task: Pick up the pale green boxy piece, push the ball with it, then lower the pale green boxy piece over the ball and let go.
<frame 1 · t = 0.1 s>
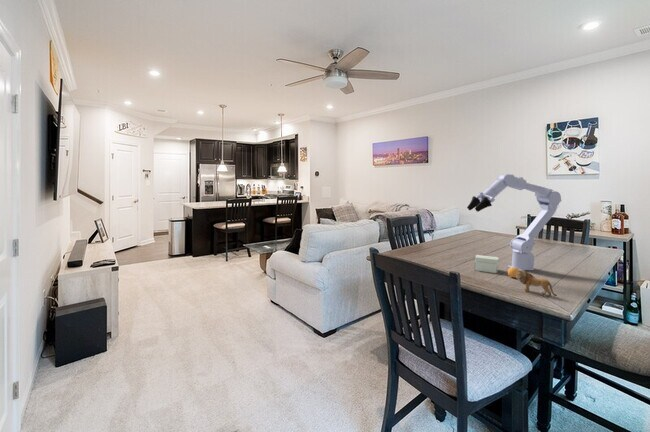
hand: (472, 209, 160), 32 cm above the table, tool tilted 50°, fingers open, 7 cm apart
ball: (513, 272, 151), on the table
lion figurine: (533, 293, 131), on the table
pale green boxy piece: (486, 269, 164), on the table
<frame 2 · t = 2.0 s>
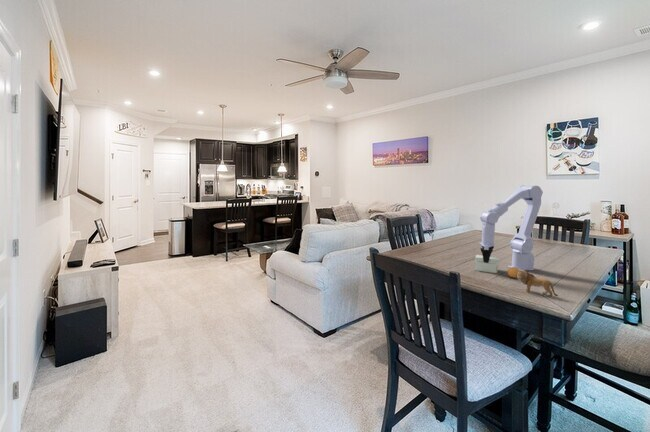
hand: (486, 260, 163), 5 cm above the table, tool pointing down, fingers closed on pale green boxy piece, 6 cm apart
pale green boxy piece: (486, 269, 164), on the table, touching gripper
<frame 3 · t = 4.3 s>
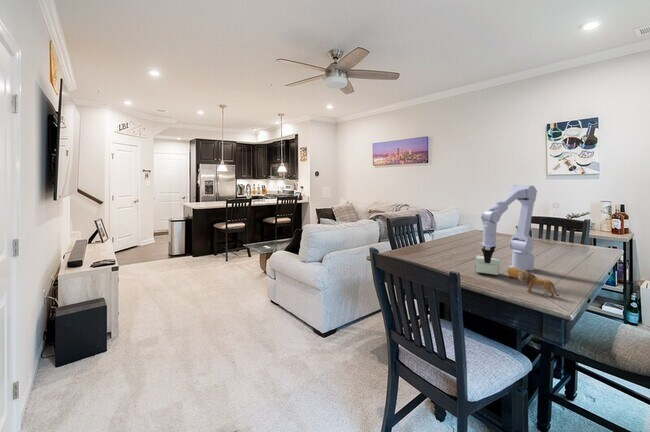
hand: (487, 261, 156), 6 cm above the table, tool pointing down, fingers closed on pale green boxy piece, 6 cm apart
pale green boxy piece: (487, 271, 157), point 1 cm above the table, touching gripper
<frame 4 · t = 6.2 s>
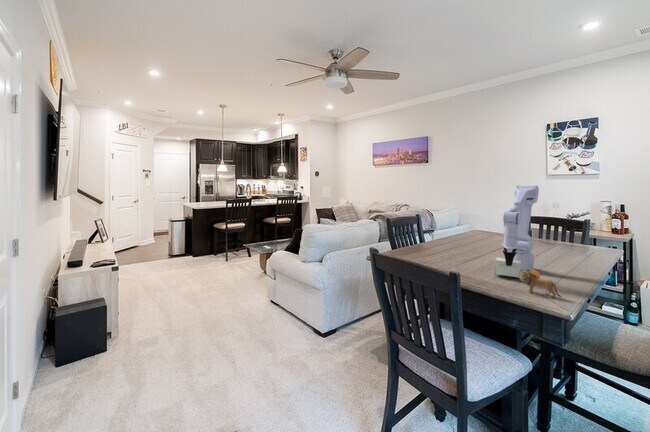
hand: (508, 263, 152), 6 cm above the table, tool pointing down, fingers closed on pale green boxy piece, 6 cm apart
ball: (533, 275, 146), on the table
pale green boxy piece: (507, 273, 152), point 1 cm above the table, touching gripper
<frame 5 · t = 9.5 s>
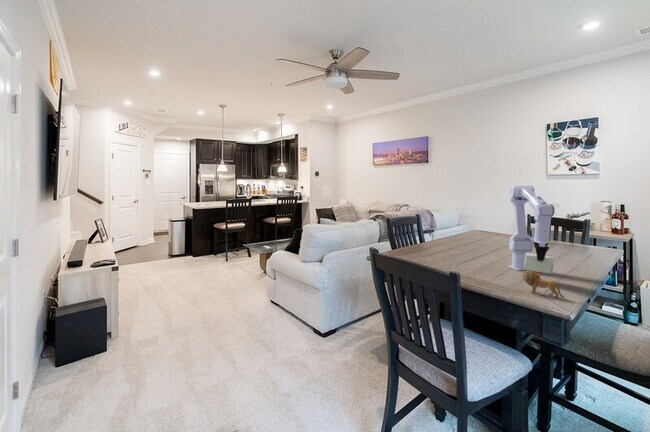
hand: (539, 259, 145), 10 cm above the table, tool pointing down, fingers closed on pale green boxy piece, 6 cm apart
pale green boxy piece: (537, 269, 146), point 5 cm above the table, touching gripper
when the fingers open (5 cm above the table, at t = 12.3 s): pale green boxy piece stays where it is, on the table.
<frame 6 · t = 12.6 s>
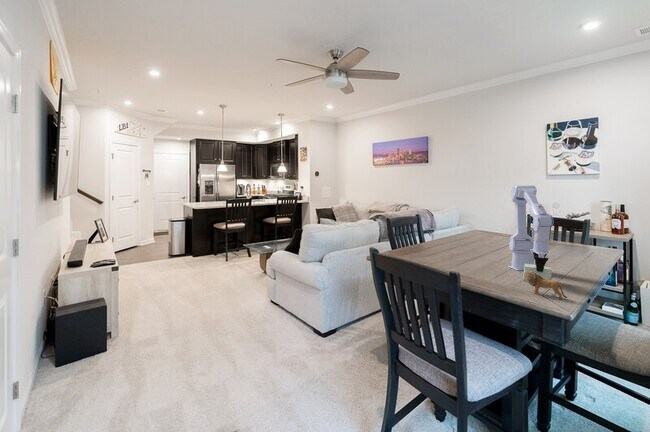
hand: (539, 269, 145), 5 cm above the table, tool pointing down, fingers open, 7 cm apart
pale green boxy piece: (536, 280, 146), on the table
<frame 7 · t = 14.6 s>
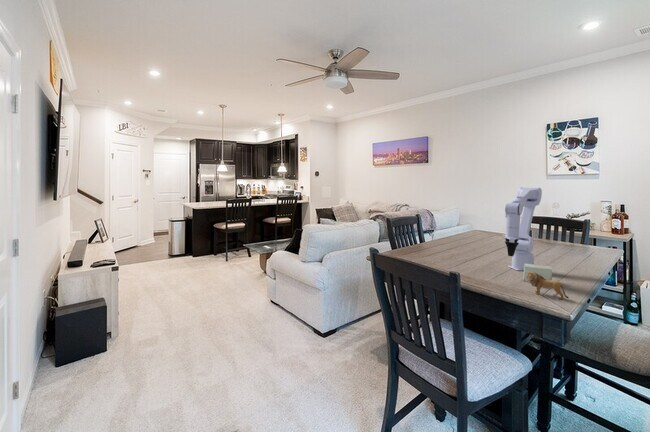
hand: (510, 254, 154), 10 cm above the table, tool pointing down, fingers open, 7 cm apart
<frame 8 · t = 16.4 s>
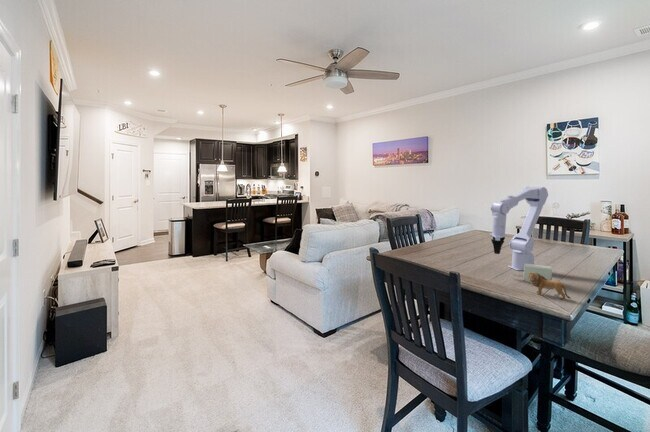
hand: (497, 252, 159), 10 cm above the table, tool pointing down, fingers open, 7 cm apart
at the end: ball 1.4 cm from the pale green boxy piece (horizontally); pale green boxy piece on the table; ball moved 8.0 cm from its start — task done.
